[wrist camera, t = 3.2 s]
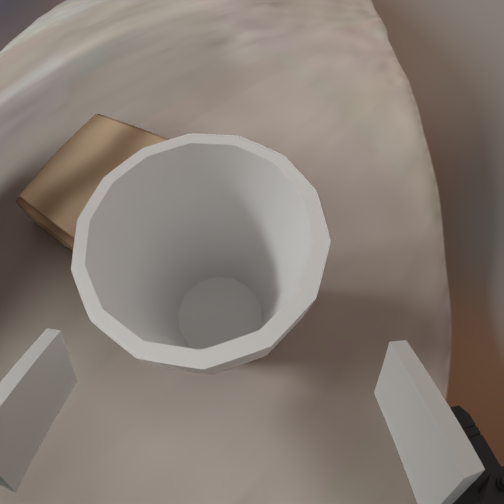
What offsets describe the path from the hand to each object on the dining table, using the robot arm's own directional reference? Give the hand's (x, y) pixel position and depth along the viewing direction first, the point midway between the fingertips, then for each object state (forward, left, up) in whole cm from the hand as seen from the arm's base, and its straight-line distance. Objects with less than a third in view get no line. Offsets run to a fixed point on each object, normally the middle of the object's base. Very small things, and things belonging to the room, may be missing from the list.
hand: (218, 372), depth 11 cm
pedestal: (-18, +8, -10) cm, 22 cm away
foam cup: (-3, +4, -10) cm, 11 cm away
